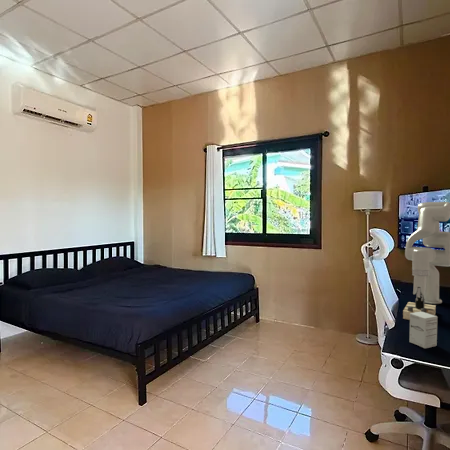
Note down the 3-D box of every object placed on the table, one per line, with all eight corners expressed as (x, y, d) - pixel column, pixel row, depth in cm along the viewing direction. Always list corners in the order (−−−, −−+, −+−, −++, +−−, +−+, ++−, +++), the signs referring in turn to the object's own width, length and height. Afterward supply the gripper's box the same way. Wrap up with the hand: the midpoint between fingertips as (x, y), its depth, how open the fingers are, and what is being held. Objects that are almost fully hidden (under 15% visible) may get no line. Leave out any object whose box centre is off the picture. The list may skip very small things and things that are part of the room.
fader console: (408, 308, 186) (408, 298, 186) (435, 312, 179) (435, 301, 179) (403, 318, 170) (403, 307, 170) (432, 323, 163) (432, 311, 162)
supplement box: (408, 342, 141) (409, 313, 140) (421, 339, 143) (421, 310, 143) (424, 349, 134) (425, 318, 133) (437, 346, 136) (438, 315, 136)
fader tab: (416, 305, 177) (416, 297, 177) (424, 307, 174) (424, 298, 174) (415, 307, 174) (415, 299, 174) (424, 308, 172) (424, 300, 172)
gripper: (414, 269, 182) (413, 302, 183) (410, 274, 169) (409, 309, 170) (430, 270, 178) (429, 304, 179) (427, 276, 165) (426, 312, 165)
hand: (420, 306), depth 174 cm, fingers closed on fader tab, 3 cm apart
